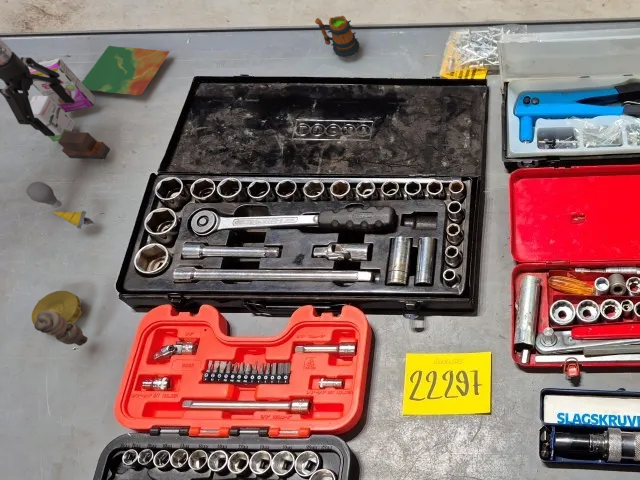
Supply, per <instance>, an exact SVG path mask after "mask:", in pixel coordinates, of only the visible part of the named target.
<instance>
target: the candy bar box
mask: <svg viewBox="0 0 640 480" xmlns="http://www.w3.org/2000/svg"><path fill="white" fill-rule="evenodd" d="M37 63H38V64H40V65H42V66H44V67H46V68H49V69H51V70H53V71H55V72H57V73H59V75H60V77H58V79H60V80H61V83H60V84H61V85H62V86H63V87H64V88H65V90H66V91H65V92H66V93H67V94H68V95H69V96H70V97H71V98H72V99H73V100H74V101H75V102H74V103H65V102H64V101H63V100H62V99H61V98H60V97H59V96H58V95H57V94H56V93H55V92H54V91H53V90H52V89H51V88H50V87H49V85H50V84H51V83H47V82H41V81H36V80H33V85H32V86H33V87H34V88H36V90H37V91H39V93H41V95H42V96H49V97H50V98H51V99H52V100H53V101H54V102H55V103H56V104H57V105H58V106H59V107H60V108H61V109H62V110H63V111H64V112H65V113H66V114H67V113H70V112H74V111H79V110H83V109H88V108H89V109H90V108H93V107H96V96H95V95H94V94H93V93H92V92H91V90H88V89H87V88H86V86H85V85H84V84H83V83H82V81H81V80H80V79H79V77H78V76H77V75H76V74H75V73H74V72H73V71H72V69H70V67H68V65H67V63H65V62H64V61H63V60H62V59H61V58H60V57H58V58H53V59H49V60H44V61H38V62H37ZM28 68H29V70H30V73H31V74H35V75H39V76H44V77H49V76H47V75H45V74H43V73H41V72H39V71H37V70H34V69H32V68H30V67H28Z"/></svg>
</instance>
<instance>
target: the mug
mask: <svg viewBox="0 0 640 480" xmlns="http://www.w3.org/2000/svg"><path fill="white" fill-rule="evenodd" d="M314 22H315V24H316V25H318V27H319V29H320V31H321V34H322V36H323V40H324V44H325V45H327V46H332V50H333V52H334V54H335V55H336V56H338V57H342V58H346V57H351V56H353V55H355V54H357V53H358V52H359V50H360V47H361V46H360V42H359V40H358V38H357V37H356V33H357V32H353V31H352V29H351V28H353V27H354V25H351V24H350V23H351V22H352V21H351V20H347V18H346V16H344V15H341V16H340V15H338V16H334V17H329V19H328V24H324V23H323V21H322V20H321V19H320V18H319V17H317V18H316V19H315V20H314ZM326 28H327V29H328V31H326ZM329 33H331V36H329V35H328V34H329Z"/></svg>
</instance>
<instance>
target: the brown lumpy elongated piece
mask: <svg viewBox="0 0 640 480" xmlns="http://www.w3.org/2000/svg"><path fill="white" fill-rule="evenodd" d="M36 319H37V321H36V322H35V325H34V324H33V325H34V326H33V327H34V329H35V330H36V331H38V332H41V333H43V334H46V335H47V336H52V337H55V340H56V341H58V342H60V343H62V344H65V345H77V346H80V347H81V346H83V345H84V344H86V343H87V342H88V337H87V336H86V335H84V332H83V329H82V328H80V327H79V326H78V325H77V324H75V323H73V322H72V323H67V321H66V320H65V319H64V318H63V317H61V316H60V315H59V314H57V313H56V312H54V311H50V310H46V311H42V312H40V313H39V314H38V315H37V317H36Z"/></svg>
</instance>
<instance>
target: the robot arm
mask: <svg viewBox="0 0 640 480" xmlns="http://www.w3.org/2000/svg"><path fill="white" fill-rule="evenodd" d="M28 67H30V68H32V69H34V70H37V71H39V72H41V73H43V74H45V75H47V76H49V77H44V76H39V75H35V74H31V73H30V70H29V68H28ZM58 77H60V75H59V73H57V72H55V71H53V70H51V69H49V68H46V67H44V66H42V65H40V64H38V62H36V61H35V60H34V59H33V58H32V57H28V56H27V57H26V56H25V57H24V56H23V57H19V56H18V55H17V54H16V53H15V52H14V51H13V50H12V49H11V48H10V47H9V46H8V45H7V44H6V43H5V42H4V41H3V40H2V39H1V38H0V80H1V81H3V83H4V84H5V86H4V87H3V88H0V94H1V96H3V98H4V99H5V101H6V102H7V105H8V106H9V108H10V110H11V112H12V113H13V115H14V117H15V119H16V121H17V123H18V124H19V125H28V126H31V127H32V128H33V129H34V130H35V131H39V132H41V133H42V134H43V136H45V137H48V136H55V134H54V133H53V132H52V131H51V130H50V129H49V128H48V127H47V126H46V125H45V124H44V123H43V122H41V121H40V120H39V119H38V118H34V115H33V111H32V108H31V105H30V99H29V96H30V94H29V91H30V89H31V87H32V86H34V85H33V80H36V81H41V82H47V83H51V84H50V85H49V87H50V88H51V89H52V90H53V91H54V92H55V93H56V94H57V95H58V96H59V97H60V98H61V99H62V100H63V101H64V102H65V103H74V102H75V101H74V100H73V99H72V98H71V97H70V96H69V95H68V94H67V93H66V92H65V91H66V90H65V88H64V87H63V86H62V85H61V84H60V83H61V80H60V79H58ZM28 116H29V117H28Z"/></svg>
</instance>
